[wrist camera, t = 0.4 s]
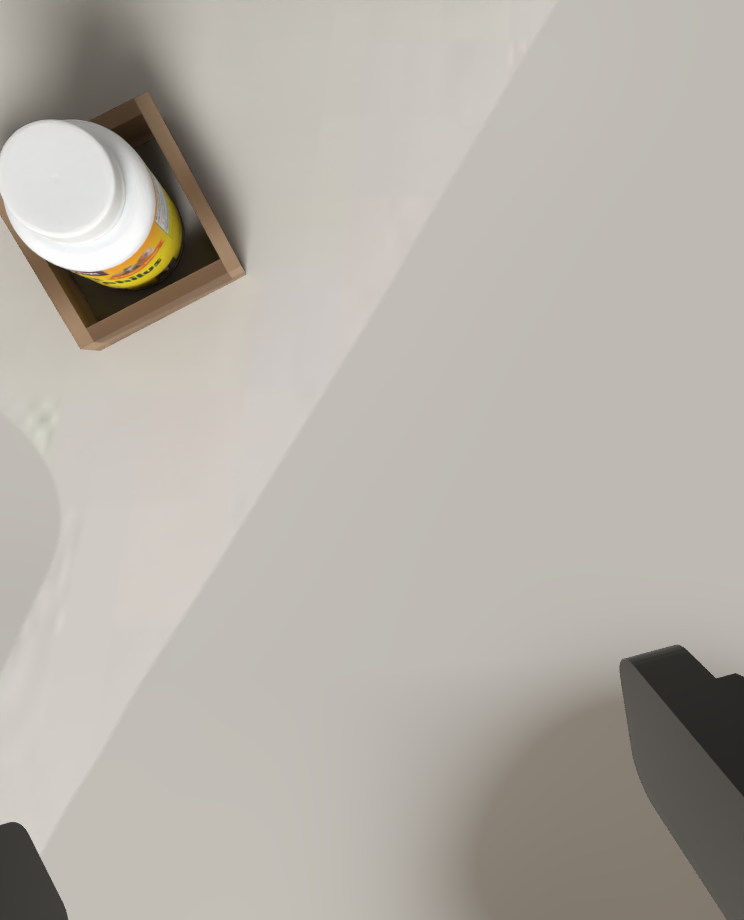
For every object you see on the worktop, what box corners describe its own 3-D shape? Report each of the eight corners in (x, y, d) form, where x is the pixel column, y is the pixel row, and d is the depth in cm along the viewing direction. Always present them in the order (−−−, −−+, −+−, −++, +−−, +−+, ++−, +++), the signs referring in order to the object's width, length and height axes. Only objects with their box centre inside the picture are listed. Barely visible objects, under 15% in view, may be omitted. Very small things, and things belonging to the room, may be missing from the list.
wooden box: (7, 194, 32) (-22, 177, 29) (161, 116, 32) (147, 91, 29) (99, 350, 33) (80, 349, 30) (246, 274, 33) (241, 265, 30)
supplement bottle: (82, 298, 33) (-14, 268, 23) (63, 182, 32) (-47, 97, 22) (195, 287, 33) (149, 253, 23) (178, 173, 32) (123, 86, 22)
